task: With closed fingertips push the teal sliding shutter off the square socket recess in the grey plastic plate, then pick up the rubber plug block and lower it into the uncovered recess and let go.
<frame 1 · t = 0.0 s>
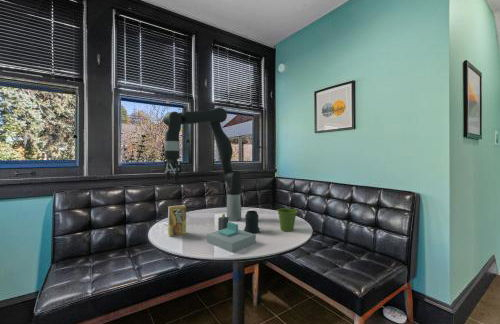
hand: (172, 180, 120), 29 cm above the table, fingers open, 8 cm apart
candy box: (177, 234, 123), on the table
socket plate: (231, 242, 111), on the table
plant pot: (287, 230, 132), on the table
mug: (252, 230, 130), on the table
shutter: (228, 228, 113), point 6 cm above the table, slide at 0.0 cm
plug: (223, 231, 127), on the table
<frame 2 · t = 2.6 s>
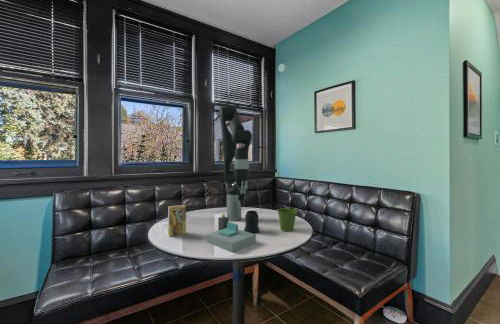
hand: (241, 200, 119), 19 cm above the table, fingers closed
nothing on the table moved.
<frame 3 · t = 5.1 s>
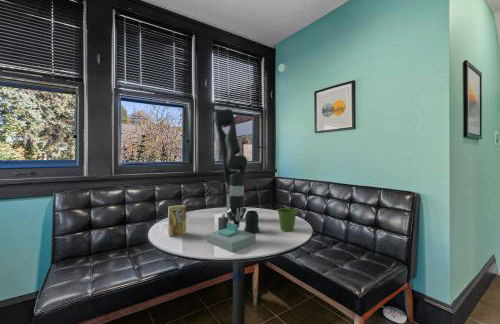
hand: (236, 227, 116), 6 cm above the table, fingers closed
shutter: (228, 228, 112), point 6 cm above the table, slide at 0.3 cm, touching gripper
everything else where it was.
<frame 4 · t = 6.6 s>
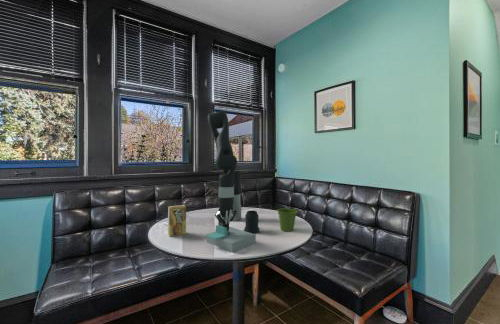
hand: (226, 231, 111), 6 cm above the table, fingers closed
shutter: (216, 232, 107), point 6 cm above the table, slide at 7.5 cm, touching gripper
everything else where it was.
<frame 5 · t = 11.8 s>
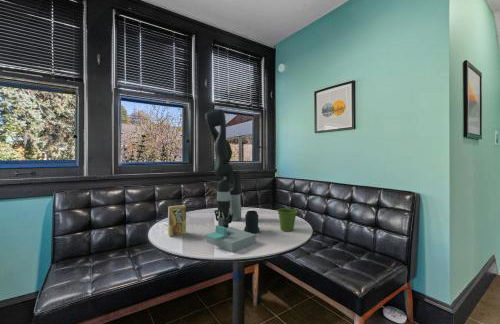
hand: (223, 229, 127), 1 cm above the table, fingers closed on plug, 4 cm apart
shutter: (216, 232, 107), point 6 cm above the table, slide at 7.6 cm
plug: (223, 231, 127), on the table, touching gripper
everything else where it was.
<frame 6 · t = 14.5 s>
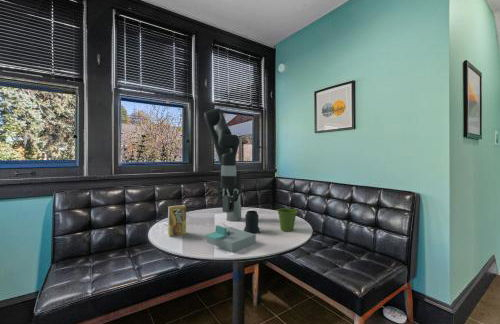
hand: (228, 209, 113), 16 cm above the table, fingers closed on plug, 4 cm apart
plug: (228, 211, 112), point 15 cm above the table, touching gripper
everything else where it was.
when the fingers open (4 cm above the table, at t = 17.4 s): plug drops 3 cm, resting in socket plate.
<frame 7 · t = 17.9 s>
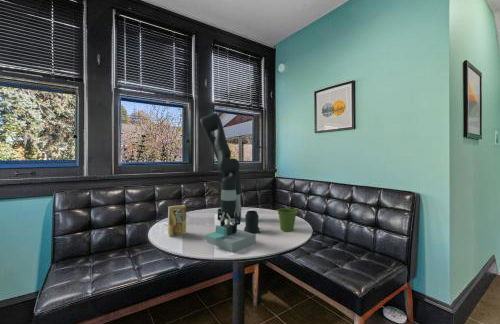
hand: (228, 231, 113), 5 cm above the table, fingers open, 8 cm apart
plug: (228, 241, 113), resting in socket plate
everything else where it was.
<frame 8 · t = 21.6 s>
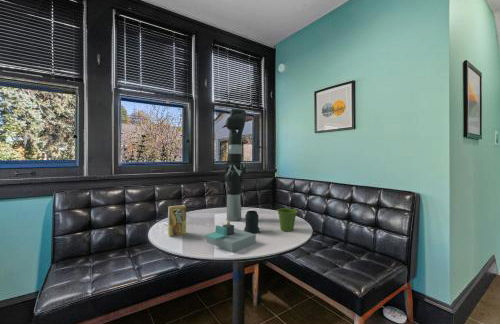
hand: (235, 182, 127), 28 cm above the table, fingers open, 8 cm apart
nothing on the table moved.
at the end: plug 0.1 cm from the target spot on the socket plate, point 0.0 cm above the socket plate's base; plug tilted 0°; shutter slide at 7.6 cm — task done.
